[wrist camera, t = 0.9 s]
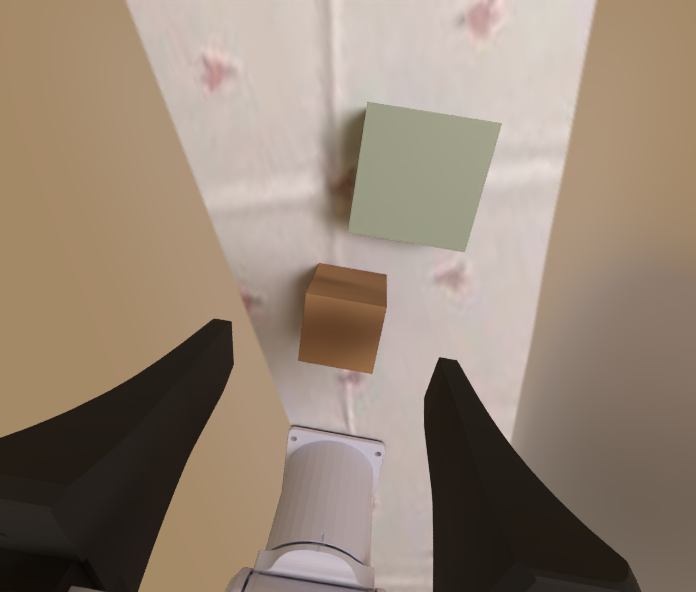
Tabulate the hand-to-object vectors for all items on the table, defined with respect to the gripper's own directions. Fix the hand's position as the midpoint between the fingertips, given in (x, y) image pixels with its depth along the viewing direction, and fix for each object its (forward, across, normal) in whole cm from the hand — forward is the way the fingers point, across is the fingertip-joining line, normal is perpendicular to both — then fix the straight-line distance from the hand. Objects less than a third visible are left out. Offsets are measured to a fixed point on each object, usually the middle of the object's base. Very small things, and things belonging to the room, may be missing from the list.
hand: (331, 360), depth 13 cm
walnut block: (+12, 0, +6) cm, 13 cm away
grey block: (+14, -3, -3) cm, 14 cm away
